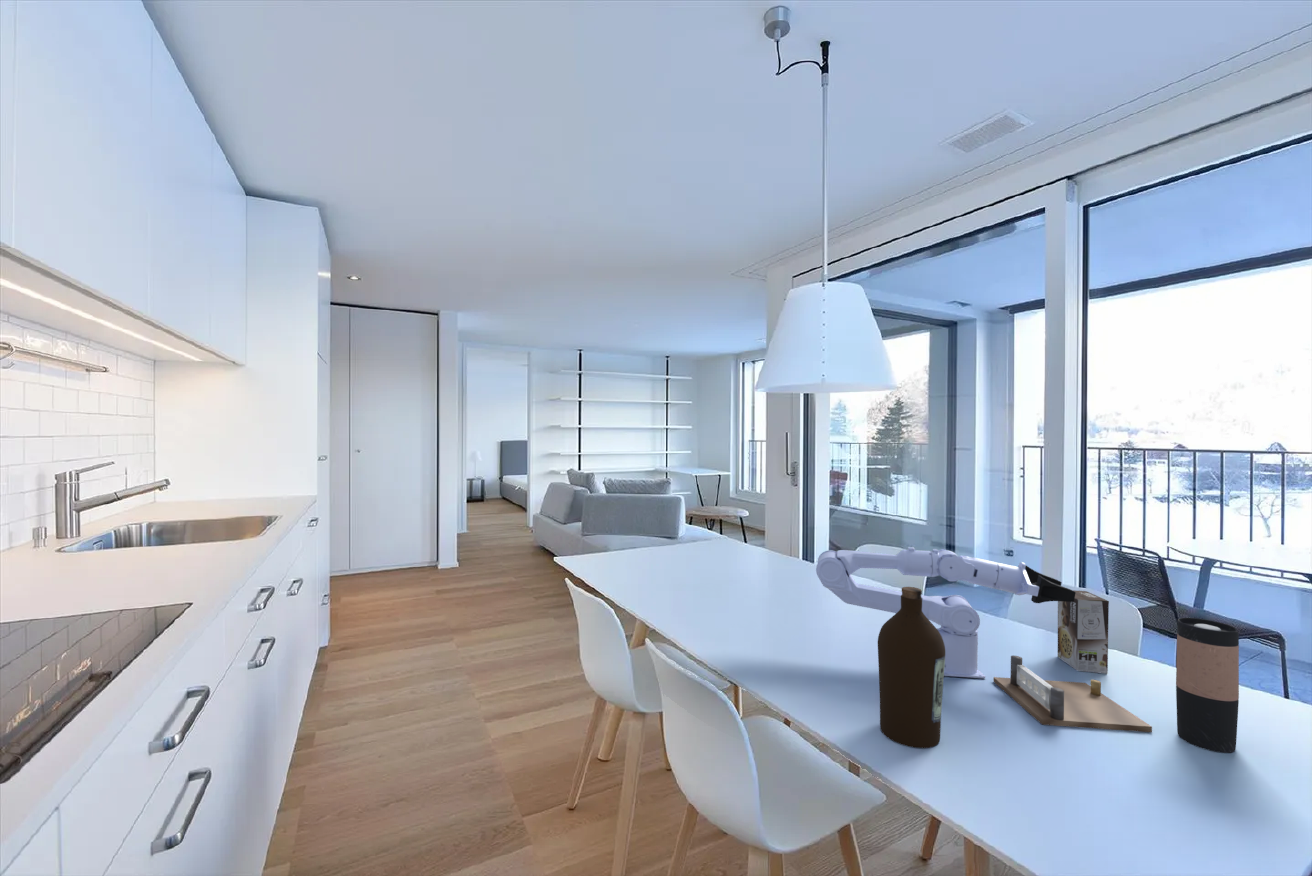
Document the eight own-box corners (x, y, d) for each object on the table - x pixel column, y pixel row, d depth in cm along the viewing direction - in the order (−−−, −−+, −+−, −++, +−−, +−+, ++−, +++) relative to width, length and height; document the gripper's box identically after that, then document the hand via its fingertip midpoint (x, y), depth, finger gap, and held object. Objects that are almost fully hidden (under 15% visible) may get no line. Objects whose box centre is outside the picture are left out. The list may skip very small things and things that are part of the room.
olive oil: (872, 740, 94) (874, 591, 94) (880, 713, 103) (882, 578, 104) (943, 758, 89) (945, 601, 89) (944, 728, 98) (946, 586, 99)
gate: (1016, 683, 114) (1016, 664, 114) (1022, 684, 113) (1023, 665, 113) (1048, 709, 102) (1049, 689, 102) (1055, 710, 102) (1056, 689, 102)
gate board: (1042, 724, 100) (1042, 688, 100) (993, 681, 118) (993, 651, 118) (1151, 732, 98) (1152, 695, 98) (1085, 687, 116) (1085, 656, 116)
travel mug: (1163, 730, 99) (1164, 617, 99) (1202, 729, 100) (1204, 617, 100) (1209, 755, 91) (1210, 632, 91) (1251, 753, 92) (1253, 632, 92)
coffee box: (1109, 674, 123) (1110, 601, 123) (1076, 671, 124) (1077, 599, 125) (1086, 658, 132) (1087, 590, 132) (1055, 656, 133) (1056, 588, 133)
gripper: (1007, 565, 115) (1085, 581, 110) (989, 550, 128) (1058, 564, 124) (1000, 598, 115) (1077, 616, 111) (983, 580, 129) (1051, 595, 125)
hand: (1066, 591), depth 118 cm, fingers open, 7 cm apart
